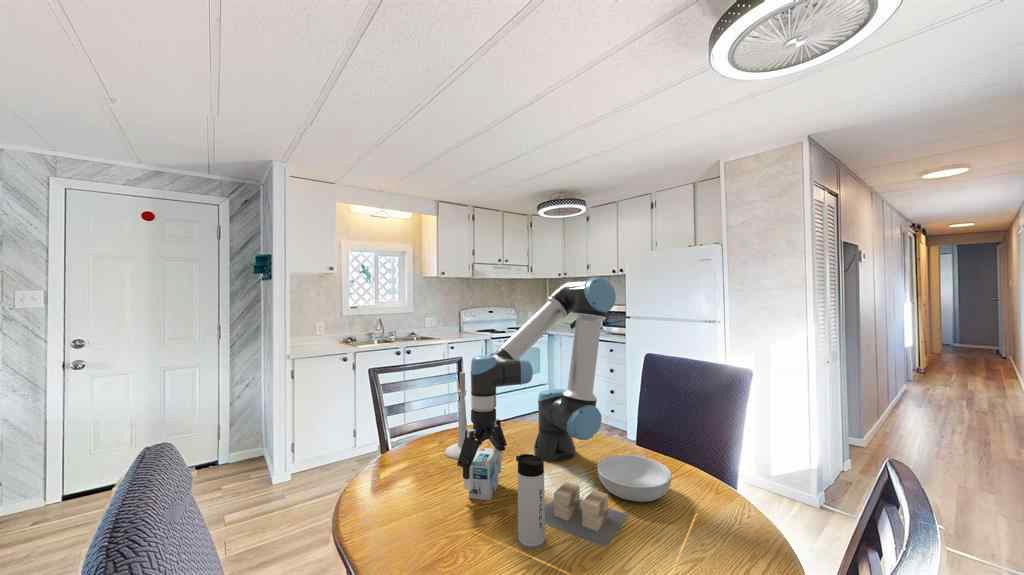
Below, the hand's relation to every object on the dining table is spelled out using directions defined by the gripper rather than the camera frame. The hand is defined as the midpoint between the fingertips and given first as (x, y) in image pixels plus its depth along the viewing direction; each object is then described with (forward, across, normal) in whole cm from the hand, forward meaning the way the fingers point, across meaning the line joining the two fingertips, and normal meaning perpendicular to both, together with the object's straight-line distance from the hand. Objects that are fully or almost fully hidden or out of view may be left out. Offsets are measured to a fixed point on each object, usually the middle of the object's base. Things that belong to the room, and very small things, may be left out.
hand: (483, 480), depth 116 cm
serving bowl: (+3, -24, +37) cm, 44 cm away
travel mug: (+3, +13, +25) cm, 28 cm away
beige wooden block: (+3, -3, +26) cm, 26 cm away
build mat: (+3, -3, +30) cm, 30 cm away
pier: (+3, -3, +34) cm, 34 cm away
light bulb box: (+3, 0, 0) cm, 3 cm away
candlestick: (+3, -18, -25) cm, 31 cm away
